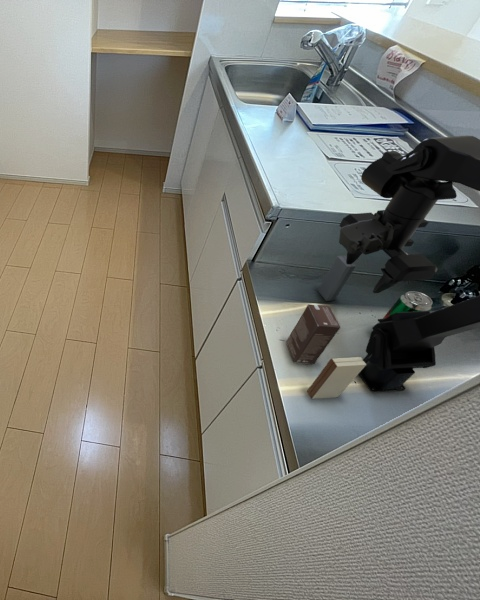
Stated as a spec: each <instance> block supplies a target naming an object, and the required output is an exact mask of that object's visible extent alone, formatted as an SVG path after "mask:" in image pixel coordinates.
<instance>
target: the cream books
mask: <svg viewBox="0 0 480 600" xmlns="http://www.w3.org/2000/svg"><path fill="white" fill-rule="evenodd" d="M365 366H366V363H365V362H364V361H363V358H362V357H361V356H354V357H339V358H338V357H336V358H334V357H333V358H330V359H329V361H328V362H327V363H326V364H325V366H324V367H323V368H322V370H321V372H320V373H319V374H318V375H317V376H316V378H315V380H314V381H313V382H312V383H311V385H310V386H309V387H308V389H307V390H306V392H307V394H308V396H309V398H310V399H311V400H313V399H330V398H332V399H333V398H339V397H340V395H341V394H342V393H343V392H344V391H345V390H346V388H348V386H350V384H351V383H352V382H353V381H354V379H356V378H357V376H359V373H360V371H361V370H362V369H363V368H364V367H365Z"/></svg>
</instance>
